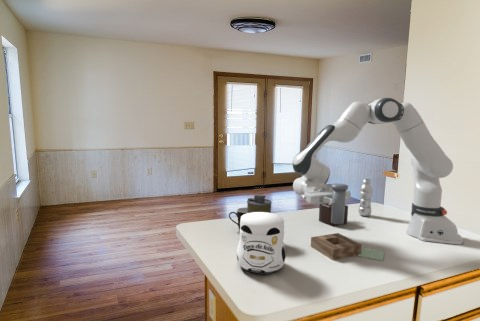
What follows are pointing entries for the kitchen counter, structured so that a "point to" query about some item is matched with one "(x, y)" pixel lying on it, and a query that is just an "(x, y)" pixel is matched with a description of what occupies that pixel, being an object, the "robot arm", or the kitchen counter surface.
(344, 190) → the grey capped peg
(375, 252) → the mat
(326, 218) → the brown coffee grinder
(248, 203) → the canister
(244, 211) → the coffee mug
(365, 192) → the plastic bottle
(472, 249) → the kitchen counter surface
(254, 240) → the dulce de leche jar
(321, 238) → the socket block
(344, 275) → the kitchen counter surface
